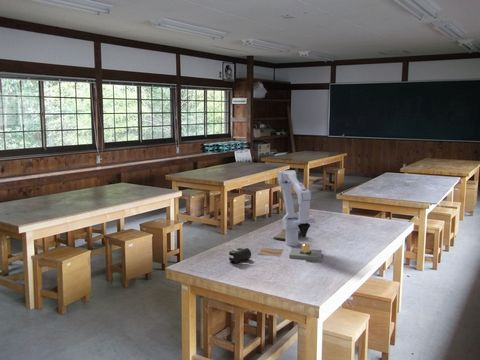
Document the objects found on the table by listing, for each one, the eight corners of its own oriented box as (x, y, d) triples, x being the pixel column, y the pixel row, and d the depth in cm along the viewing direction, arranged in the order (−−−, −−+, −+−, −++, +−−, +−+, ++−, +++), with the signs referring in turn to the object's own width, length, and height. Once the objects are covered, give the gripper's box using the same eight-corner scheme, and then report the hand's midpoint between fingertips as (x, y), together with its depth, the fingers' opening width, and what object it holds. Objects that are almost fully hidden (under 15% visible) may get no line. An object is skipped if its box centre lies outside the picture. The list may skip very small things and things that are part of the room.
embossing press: (306, 232, 295) (304, 185, 292) (286, 241, 277) (284, 191, 273) (291, 231, 302) (289, 185, 298) (270, 239, 283) (268, 190, 280)
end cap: (239, 266, 236) (239, 253, 235) (228, 263, 240) (228, 250, 239) (251, 261, 244) (251, 248, 242) (240, 258, 248) (240, 246, 247)
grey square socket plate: (292, 252, 258) (292, 248, 258) (321, 254, 255) (321, 250, 254) (289, 259, 247) (289, 254, 246) (319, 261, 243) (319, 257, 243)
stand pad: (262, 249, 263) (262, 248, 263) (283, 251, 260) (283, 249, 260) (257, 256, 252) (257, 254, 252) (280, 257, 249) (280, 256, 249)
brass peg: (299, 256, 251) (300, 244, 250) (305, 255, 254) (306, 242, 253) (305, 258, 248) (305, 246, 247) (311, 257, 250) (311, 244, 249)
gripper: (298, 215, 246) (297, 240, 248) (319, 212, 254) (318, 236, 256) (290, 212, 252) (289, 237, 254) (310, 209, 260) (310, 233, 262)
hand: (303, 236), depth 255 cm, fingers closed
